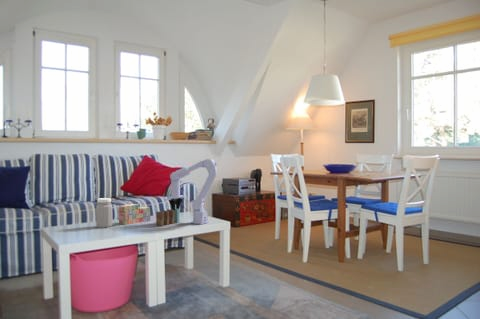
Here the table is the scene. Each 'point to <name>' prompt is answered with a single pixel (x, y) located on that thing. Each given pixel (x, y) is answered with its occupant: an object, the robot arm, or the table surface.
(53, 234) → the table surface
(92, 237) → the table surface
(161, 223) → the domino
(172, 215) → the domino
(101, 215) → the jar
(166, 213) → the domino
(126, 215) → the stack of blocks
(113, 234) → the table surface
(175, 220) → the domino
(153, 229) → the table surface
